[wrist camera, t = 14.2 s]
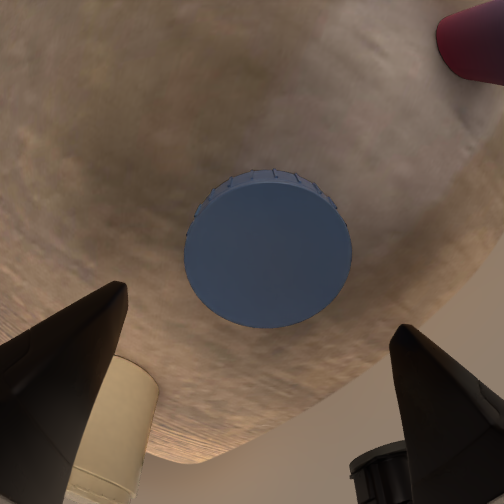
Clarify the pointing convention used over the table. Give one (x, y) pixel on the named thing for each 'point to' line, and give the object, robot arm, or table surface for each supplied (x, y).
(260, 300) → the lid
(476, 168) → the table surface
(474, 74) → the cup
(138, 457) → the jar
